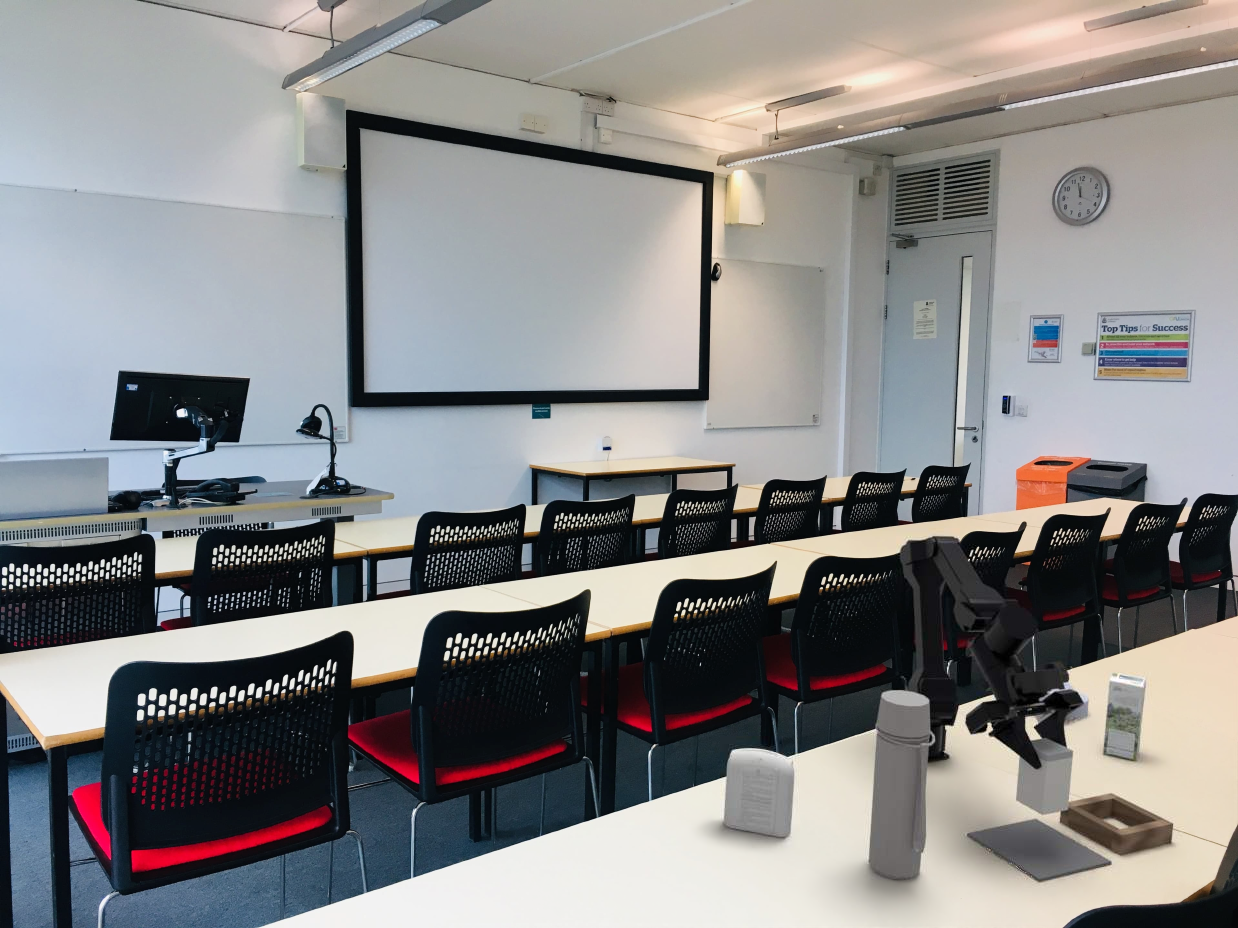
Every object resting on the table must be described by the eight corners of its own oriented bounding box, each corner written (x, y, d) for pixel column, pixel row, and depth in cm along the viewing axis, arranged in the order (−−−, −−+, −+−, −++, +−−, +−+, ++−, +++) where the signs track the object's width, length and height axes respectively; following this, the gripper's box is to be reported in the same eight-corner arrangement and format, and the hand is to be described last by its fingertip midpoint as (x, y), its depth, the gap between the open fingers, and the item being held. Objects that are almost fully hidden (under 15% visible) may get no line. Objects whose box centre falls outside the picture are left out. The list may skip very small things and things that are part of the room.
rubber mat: (1039, 881, 137) (1039, 878, 137) (966, 835, 150) (966, 832, 150) (1111, 863, 142) (1111, 861, 142) (1035, 820, 155) (1035, 818, 155)
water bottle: (855, 861, 141) (865, 692, 138) (899, 851, 144) (910, 686, 141) (897, 894, 132) (909, 714, 130) (943, 883, 136) (955, 708, 133)
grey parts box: (1042, 814, 142) (1047, 755, 141) (1015, 800, 147) (1020, 742, 146) (1067, 809, 144) (1073, 750, 143) (1040, 795, 149) (1045, 737, 148)
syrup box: (1139, 751, 185) (1146, 676, 183) (1136, 762, 180) (1144, 685, 178) (1106, 744, 188) (1112, 670, 186) (1102, 754, 183) (1109, 678, 181)
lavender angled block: (1063, 726, 197) (1095, 713, 205) (1065, 693, 196) (1098, 681, 204) (1021, 712, 204) (1054, 700, 212) (1023, 680, 203) (1056, 670, 211)
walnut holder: (1119, 854, 145) (1121, 835, 145) (1059, 821, 155) (1061, 803, 155) (1171, 842, 150) (1173, 823, 149) (1109, 810, 160) (1111, 792, 159)
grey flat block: (793, 827, 150) (797, 750, 149) (789, 840, 146) (793, 760, 145) (726, 816, 153) (730, 740, 152) (721, 828, 149) (724, 750, 148)
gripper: (985, 649, 142) (1039, 751, 134) (1079, 637, 150) (1136, 734, 141) (943, 684, 151) (991, 783, 142) (1034, 672, 158) (1085, 765, 149)
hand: (1052, 765), depth 143 cm, fingers closed on grey parts box, 5 cm apart
